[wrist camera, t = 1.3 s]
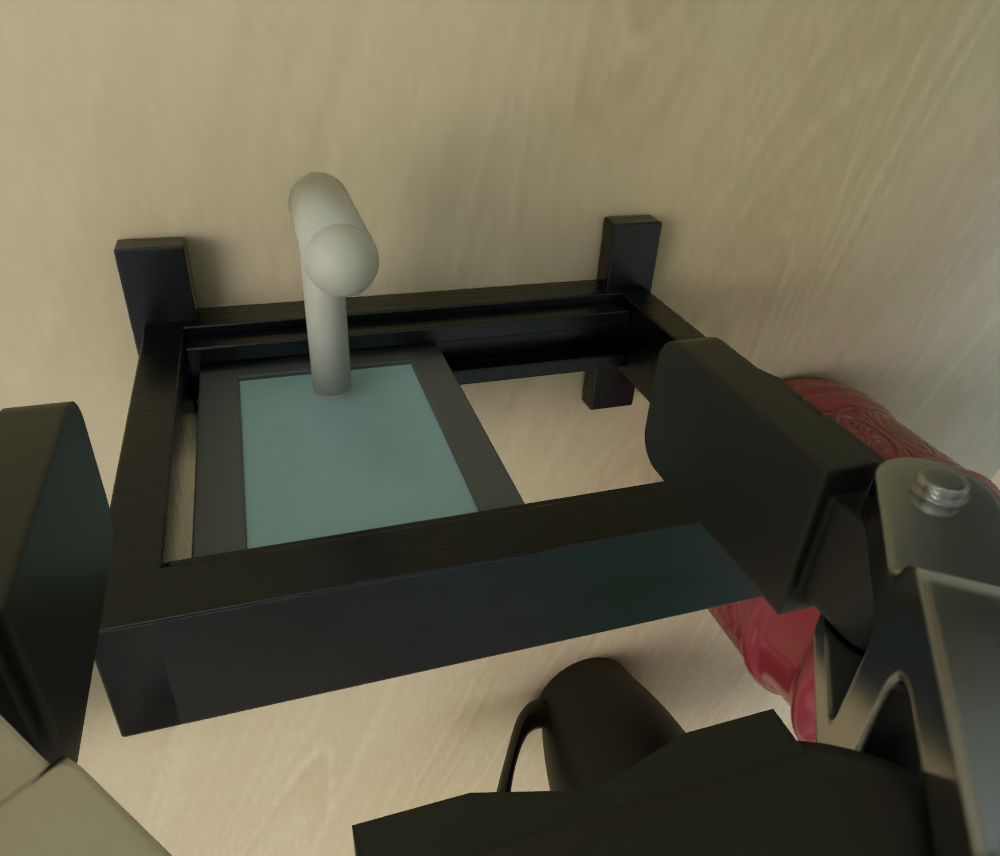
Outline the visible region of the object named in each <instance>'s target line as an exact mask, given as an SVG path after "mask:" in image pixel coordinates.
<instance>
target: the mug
mask: <svg viewBox="0 0 1000 856" xmlns="http://www.w3.org/2000/svg"><path fill="white" fill-rule="evenodd" d="M538 728H542V734H543V746H544V756H545V763H546V770H547V776H548V781H549V786H550V791H580V790H590V789H593V788H597V787H599V786H601V785H603V784H605V783H606V782H608V781H609V780H611V779H612V778H614V777H616V776H617V775H619V774H620V773H622V772H623V771H625V770H627V769H628V768H630V767H631V766H633V765H635V764H636V763H638V762H639V761H641V760H642V759H644V758H646V757H647V756H649V755H650V754H652V753H653V752H655V751H657V750H658V749H660V748H661V747H663V746H665V745H666V744H668V743H669V742H671V741H672V740H674V739H676V738H677V737H679V736H680V735H682V734H684V733H685V731H684V730H683V729H682V727H681V726H680V725H679V724H678V723H677V721H676V720H675V719H674V718H673V717H672V715H671V714H670V713H669V712H668V711H667V710H666V709H665V708H664V707H663V705H662V704H661V703H660V702H659V701H658V700H657V699H656V698H655V697H654V696H653V695H652V694H651V693H650V692H649V691H648V690H647V689H646V688H644V687H643V686H642V685H641V684H640V683H639V682H638V681H637V680H636V679H635V678H634V677H632V676H631V675H630V674H629V673H628V672H627V671H626V670H625V669H624V667H623V666H622V665H621V664H619V663H617V662H616V661H614V660H610V659H604V658H596V659H589V660H586V661H582V662H579V663H577V664H574V665H572V666H570V667H568V668H567V669H565V670H563V671H562V672H560V673H559V674H558V675H557V676H555V677H554V678H553V679H552V680H551V681H550V682H549V684H548V685H547V686H546V687H545V689H544V691H543V692H542V695H541V698H540V699H537V700H533V701H531V702H529V703H528V704H527V705H526V706H525V707H524V708H523V710H522V711H521V712H520V714H519V716H518V718H517V720H516V723H515V726H514V729H513V732H512V736H511V739H510V743H509V747H508V750H507V754H506V758H505V762H504V765H503V769H502V773H501V776H500V780H499V784H498V788H497V792H511V786H512V780H513V775H514V770H515V766H516V762H517V758H518V755H519V752H520V749H521V746H522V744H523V742H524V740H525V738H526V736H527V735H528V734H529V733H530V732H531V731H533V730H535V729H538Z"/></svg>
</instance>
